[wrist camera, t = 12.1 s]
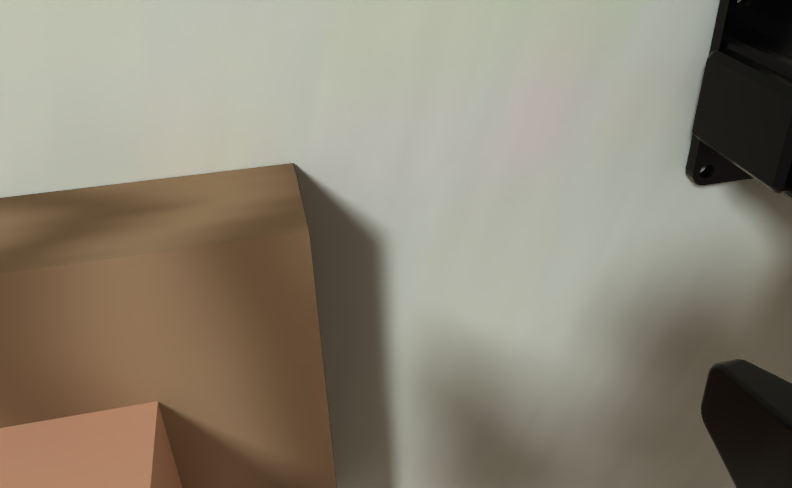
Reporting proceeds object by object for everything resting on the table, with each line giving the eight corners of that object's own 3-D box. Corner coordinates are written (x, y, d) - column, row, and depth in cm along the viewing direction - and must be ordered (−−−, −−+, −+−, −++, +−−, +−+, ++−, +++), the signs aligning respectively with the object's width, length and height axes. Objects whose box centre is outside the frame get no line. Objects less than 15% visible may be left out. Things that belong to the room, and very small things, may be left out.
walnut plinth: (293, 163, 21) (309, 232, 18) (330, 486, 28) (346, 577, 25) (-251, 228, 19) (-351, 321, 15) (-55, 561, 26) (-94, 673, 23)
